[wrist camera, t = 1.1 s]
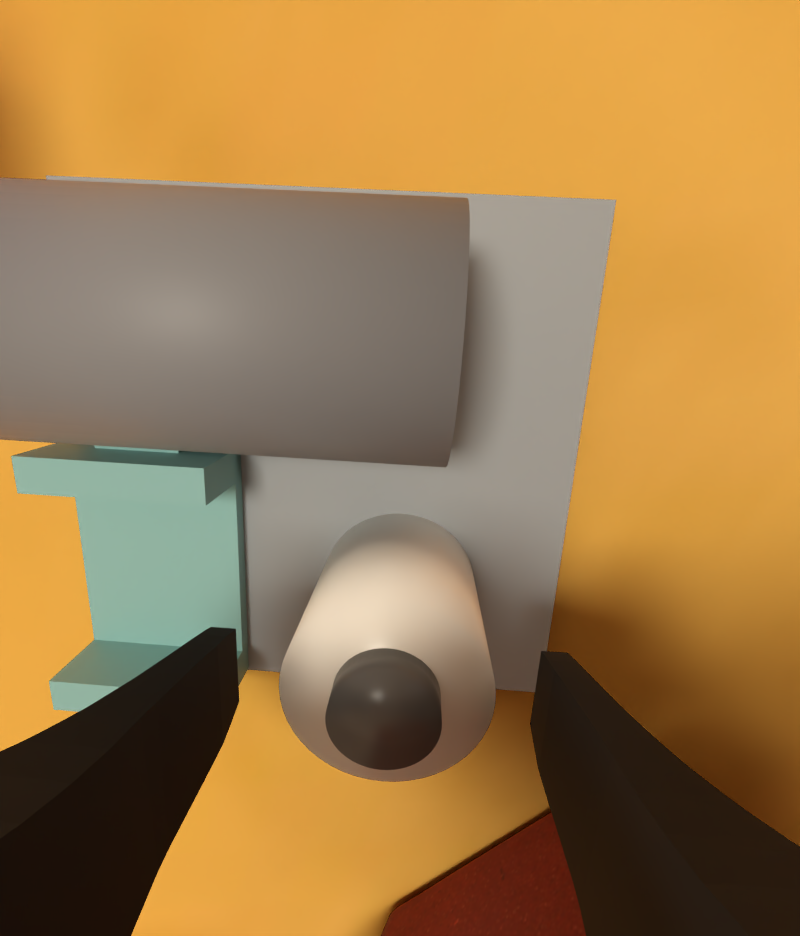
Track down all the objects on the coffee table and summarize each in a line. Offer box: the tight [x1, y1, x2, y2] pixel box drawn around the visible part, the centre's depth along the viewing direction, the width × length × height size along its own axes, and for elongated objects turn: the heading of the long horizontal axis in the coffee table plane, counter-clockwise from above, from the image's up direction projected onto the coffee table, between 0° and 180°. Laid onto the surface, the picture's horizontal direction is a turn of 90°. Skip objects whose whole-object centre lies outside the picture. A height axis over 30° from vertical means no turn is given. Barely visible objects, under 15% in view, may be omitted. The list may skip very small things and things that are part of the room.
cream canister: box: [279, 514, 496, 782], centre depth 13 cm, size 5×5×6 cm
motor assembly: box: [0, 176, 616, 712], centre depth 12 cm, size 17×15×6 cm
